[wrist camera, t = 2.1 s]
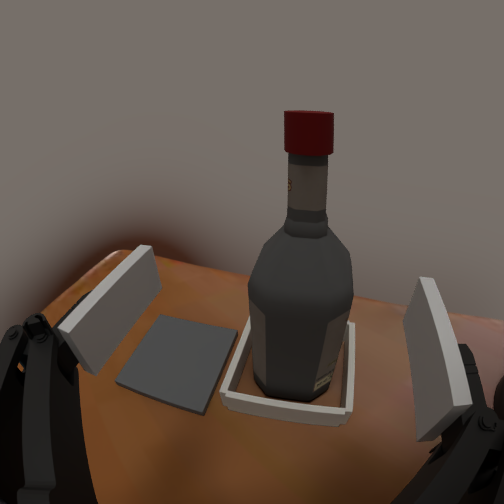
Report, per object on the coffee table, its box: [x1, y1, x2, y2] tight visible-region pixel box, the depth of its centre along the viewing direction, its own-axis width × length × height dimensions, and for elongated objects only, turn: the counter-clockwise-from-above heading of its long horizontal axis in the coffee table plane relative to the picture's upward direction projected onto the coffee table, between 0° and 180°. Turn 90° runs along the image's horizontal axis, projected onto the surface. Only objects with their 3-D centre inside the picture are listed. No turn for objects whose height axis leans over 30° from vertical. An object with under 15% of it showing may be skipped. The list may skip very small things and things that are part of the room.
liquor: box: [248, 111, 354, 401], centre depth 26 cm, size 9×9×30 cm
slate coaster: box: [115, 314, 238, 416], centre depth 36 cm, size 13×14×1 cm
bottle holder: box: [219, 316, 355, 427], centre depth 33 cm, size 15×15×4 cm
